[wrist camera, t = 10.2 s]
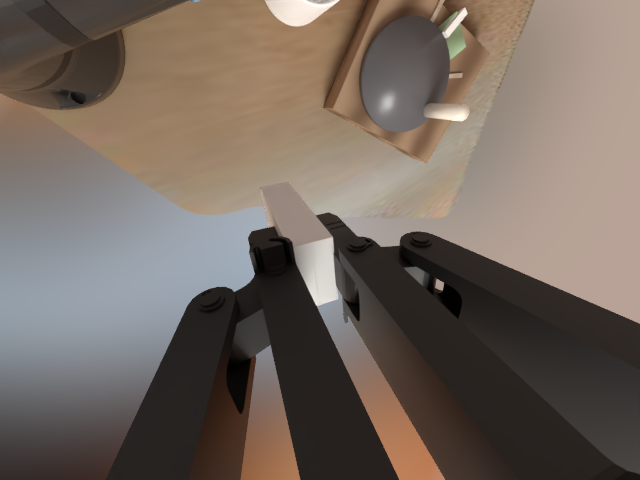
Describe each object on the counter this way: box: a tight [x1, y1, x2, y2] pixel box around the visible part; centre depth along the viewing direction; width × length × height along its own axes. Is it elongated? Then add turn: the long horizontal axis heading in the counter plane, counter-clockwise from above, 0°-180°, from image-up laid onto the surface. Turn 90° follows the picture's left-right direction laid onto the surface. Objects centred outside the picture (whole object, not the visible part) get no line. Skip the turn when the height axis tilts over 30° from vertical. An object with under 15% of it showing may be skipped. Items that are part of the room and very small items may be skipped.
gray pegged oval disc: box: [359, 7, 470, 132], centre depth 35 cm, size 18×14×8 cm
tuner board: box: [324, 0, 490, 163], centre depth 41 cm, size 20×18×4 cm
